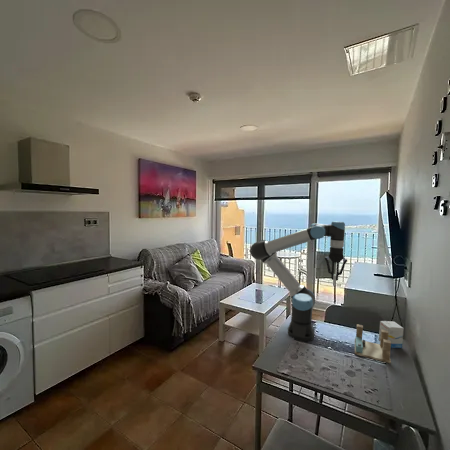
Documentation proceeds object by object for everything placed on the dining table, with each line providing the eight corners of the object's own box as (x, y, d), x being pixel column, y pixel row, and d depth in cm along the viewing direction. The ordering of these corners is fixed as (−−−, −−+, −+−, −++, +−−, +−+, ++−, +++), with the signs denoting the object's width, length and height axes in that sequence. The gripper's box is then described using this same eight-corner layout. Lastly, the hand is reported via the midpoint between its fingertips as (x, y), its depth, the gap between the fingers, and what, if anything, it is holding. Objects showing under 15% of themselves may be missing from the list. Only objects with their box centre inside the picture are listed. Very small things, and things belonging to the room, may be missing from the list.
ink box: (402, 348, 140) (404, 328, 139) (387, 347, 140) (388, 327, 139) (392, 340, 149) (394, 321, 148) (378, 339, 149) (379, 320, 148)
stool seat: (354, 354, 133) (356, 335, 132) (354, 340, 147) (355, 323, 146) (390, 363, 126) (392, 344, 125) (387, 347, 140) (388, 330, 139)
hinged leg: (362, 353, 132) (363, 346, 131) (356, 351, 133) (356, 344, 133) (361, 343, 142) (361, 336, 141) (355, 341, 143) (355, 335, 143)
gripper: (324, 246, 152) (322, 285, 154) (348, 249, 146) (345, 288, 148) (325, 245, 159) (323, 281, 161) (348, 247, 153) (346, 285, 155)
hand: (334, 285), depth 154 cm, fingers closed
